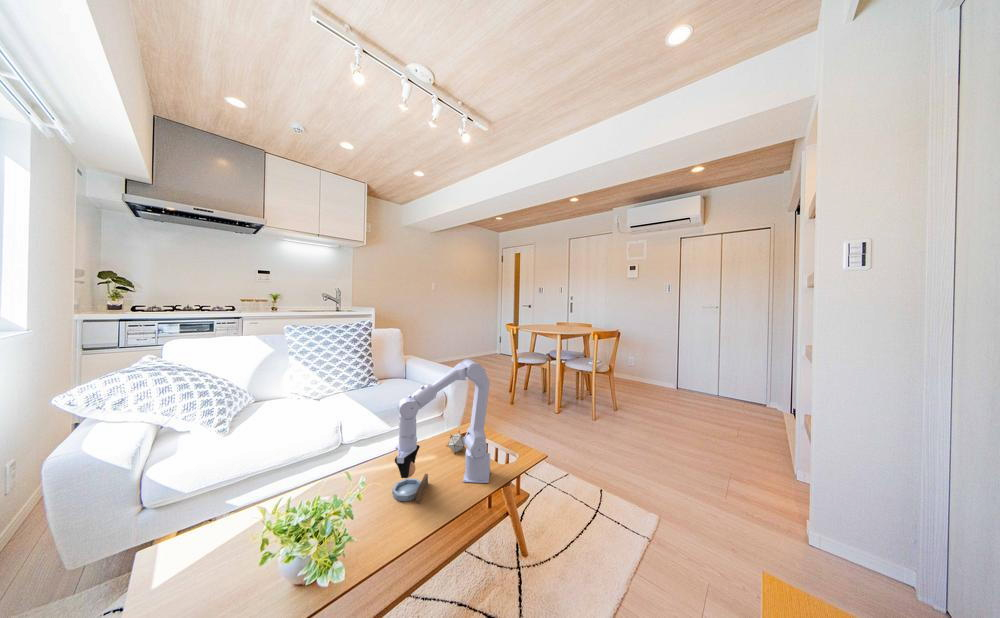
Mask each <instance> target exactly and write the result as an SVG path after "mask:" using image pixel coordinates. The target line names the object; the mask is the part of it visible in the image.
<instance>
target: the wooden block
mask: <svg viewBox="0 0 1000 618" xmlns="http://www.w3.org/2000/svg"><path fill="white" fill-rule="evenodd" d="M420 482H421V483H420V485H419V487H418V489H417V491H416V498H415V505H416V504H417V505H419V504H420V502H421V499H422V498H423V495H424V492H425V491H426V488H427V486H428V483H429V473H424V475H423V478H422V479H421V481H420Z"/></svg>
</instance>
